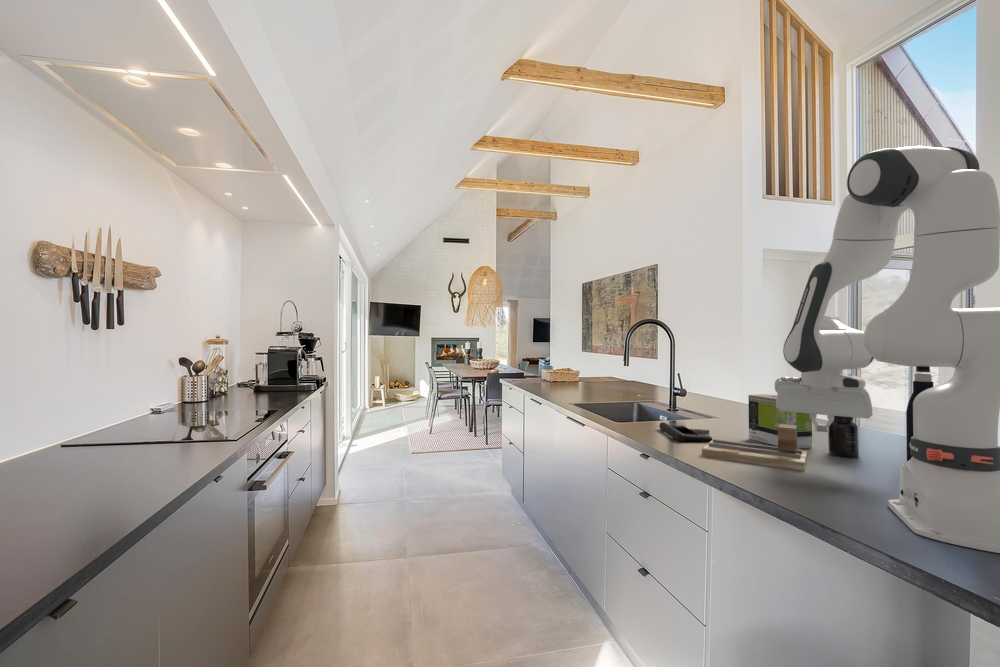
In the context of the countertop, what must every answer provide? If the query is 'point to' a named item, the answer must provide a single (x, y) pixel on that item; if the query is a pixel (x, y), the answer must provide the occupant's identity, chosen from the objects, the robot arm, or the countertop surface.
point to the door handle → (685, 433)
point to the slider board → (755, 454)
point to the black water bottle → (919, 385)
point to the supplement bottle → (843, 437)
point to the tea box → (776, 421)
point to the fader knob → (787, 438)
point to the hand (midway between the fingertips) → (822, 431)
